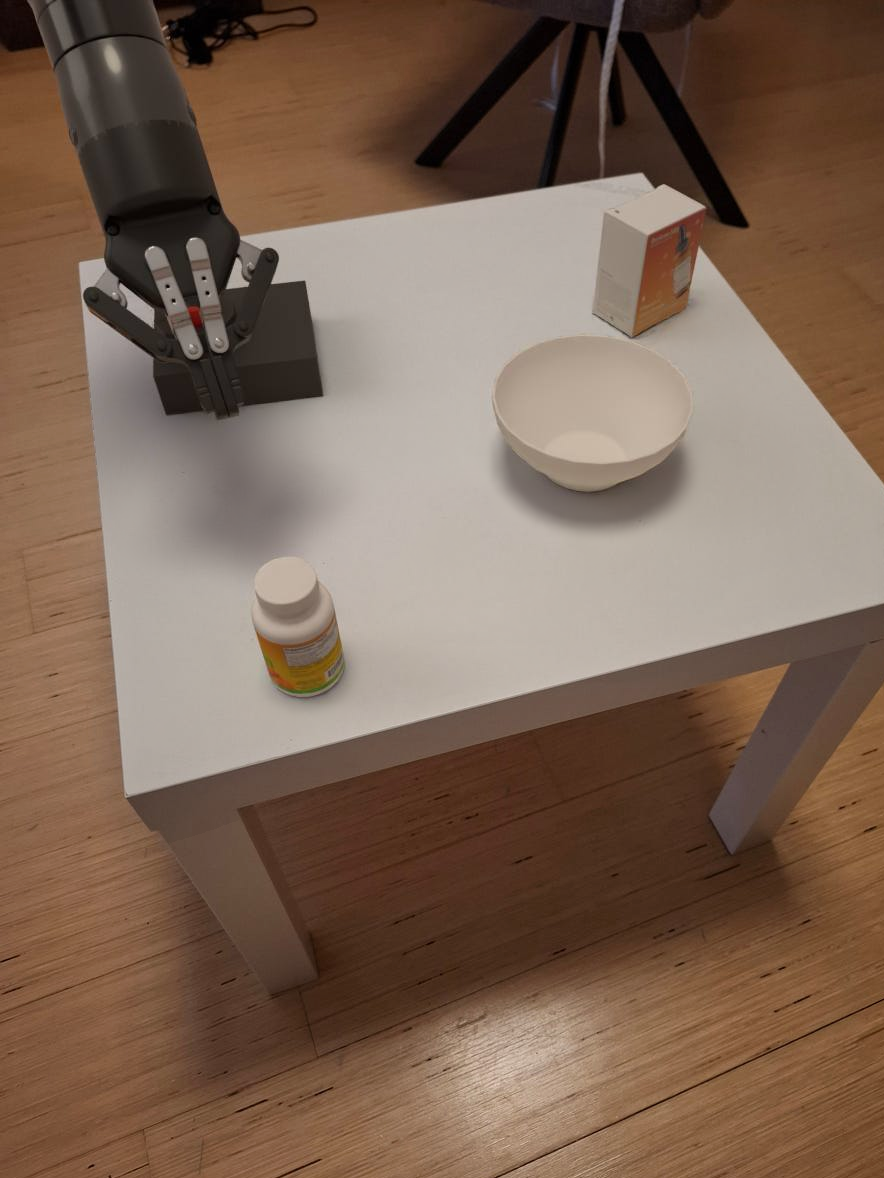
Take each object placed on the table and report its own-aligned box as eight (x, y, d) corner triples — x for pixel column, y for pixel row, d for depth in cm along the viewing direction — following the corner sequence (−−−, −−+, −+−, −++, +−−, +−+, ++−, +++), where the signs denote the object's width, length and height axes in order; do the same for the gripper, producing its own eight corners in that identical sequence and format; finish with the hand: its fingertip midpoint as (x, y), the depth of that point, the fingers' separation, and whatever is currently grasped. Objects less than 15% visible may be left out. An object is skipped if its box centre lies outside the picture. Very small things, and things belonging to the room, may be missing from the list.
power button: (172, 331, 82) (166, 314, 80) (172, 305, 84) (167, 287, 83) (218, 326, 82) (214, 308, 81) (217, 300, 84) (213, 282, 83)
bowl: (597, 560, 73) (606, 495, 68) (452, 463, 80) (449, 396, 74) (716, 459, 80) (734, 393, 75) (574, 377, 87) (580, 310, 81)
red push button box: (165, 415, 84) (146, 358, 79) (166, 335, 91) (148, 279, 86) (323, 395, 85) (313, 339, 80) (311, 318, 92) (302, 262, 87)
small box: (631, 339, 90) (646, 236, 82) (590, 313, 93) (601, 210, 84) (688, 308, 93) (709, 205, 85) (647, 283, 96) (664, 181, 87)
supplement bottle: (263, 647, 68) (235, 558, 60) (336, 630, 69) (318, 539, 61) (276, 707, 65) (248, 621, 57) (352, 688, 66) (335, 600, 58)
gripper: (239, 147, 64) (318, 400, 67) (38, 185, 60) (130, 449, 64) (245, 96, 57) (332, 383, 60) (17, 137, 53) (121, 437, 56)
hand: (227, 416), depth 62 cm, fingers closed
